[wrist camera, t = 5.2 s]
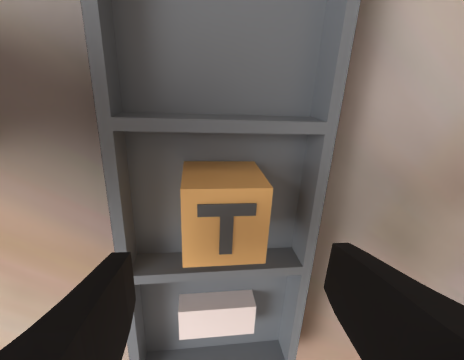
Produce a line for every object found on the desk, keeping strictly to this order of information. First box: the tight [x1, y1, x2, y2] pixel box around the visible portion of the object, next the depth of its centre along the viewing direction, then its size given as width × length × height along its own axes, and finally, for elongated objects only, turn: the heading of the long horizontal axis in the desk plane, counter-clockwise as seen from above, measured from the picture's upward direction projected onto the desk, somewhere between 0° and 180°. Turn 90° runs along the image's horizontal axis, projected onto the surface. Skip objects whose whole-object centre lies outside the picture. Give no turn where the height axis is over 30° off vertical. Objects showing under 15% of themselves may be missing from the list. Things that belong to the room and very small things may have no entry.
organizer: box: [81, 0, 361, 360], centre depth 15 cm, size 11×26×2 cm, turn 178°
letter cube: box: [180, 161, 273, 268], centre depth 14 cm, size 4×4×4 cm
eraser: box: [178, 290, 256, 340], centre depth 18 cm, size 5×2×2 cm, turn 88°
